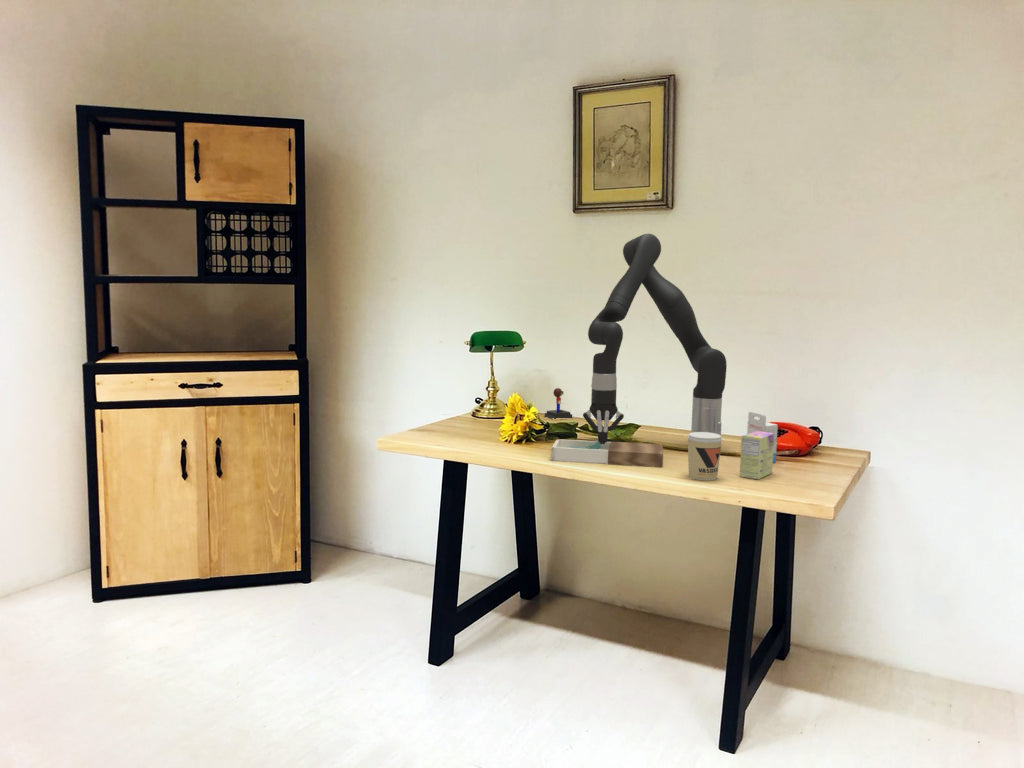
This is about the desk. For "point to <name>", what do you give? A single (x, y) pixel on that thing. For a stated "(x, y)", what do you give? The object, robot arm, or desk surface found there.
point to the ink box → (762, 428)
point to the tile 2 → (594, 445)
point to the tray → (579, 452)
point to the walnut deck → (635, 454)
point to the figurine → (558, 407)
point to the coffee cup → (704, 455)
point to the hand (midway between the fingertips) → (602, 443)
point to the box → (756, 454)
